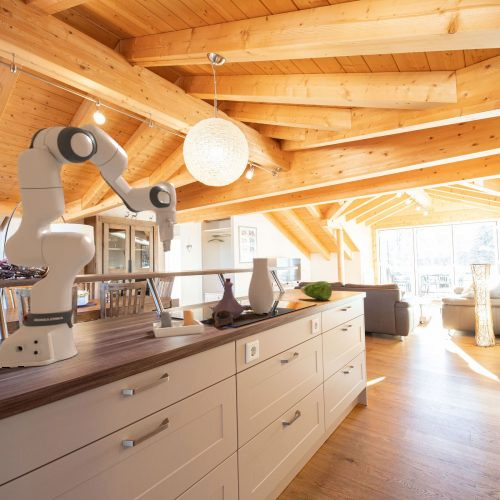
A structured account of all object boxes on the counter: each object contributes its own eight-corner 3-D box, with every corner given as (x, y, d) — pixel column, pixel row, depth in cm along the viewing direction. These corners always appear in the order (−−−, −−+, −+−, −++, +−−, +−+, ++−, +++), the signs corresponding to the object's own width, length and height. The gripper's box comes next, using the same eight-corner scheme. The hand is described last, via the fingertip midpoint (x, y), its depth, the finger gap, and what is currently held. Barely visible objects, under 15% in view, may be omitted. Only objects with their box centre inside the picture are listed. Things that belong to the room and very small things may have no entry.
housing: (155, 340, 120) (155, 329, 120) (153, 333, 132) (153, 323, 132) (203, 335, 126) (203, 324, 127) (197, 329, 139) (196, 319, 139)
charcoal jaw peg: (161, 334, 125) (161, 313, 125) (160, 332, 129) (160, 311, 129) (172, 333, 127) (171, 312, 127) (170, 331, 130) (170, 311, 131)
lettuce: (306, 297, 246) (306, 280, 246) (334, 299, 230) (334, 280, 231) (295, 299, 235) (295, 281, 236) (324, 301, 220) (324, 282, 220)
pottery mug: (239, 326, 147) (237, 311, 143) (225, 339, 140) (223, 324, 136) (218, 317, 153) (216, 303, 149) (205, 329, 147) (202, 314, 143)
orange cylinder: (194, 330, 130) (194, 310, 130) (184, 331, 128) (184, 311, 129) (192, 329, 133) (192, 309, 134) (183, 330, 132) (182, 310, 132)
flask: (227, 322, 152) (226, 279, 153) (205, 318, 164) (204, 278, 164) (251, 317, 164) (250, 278, 165) (229, 314, 176) (229, 277, 176)
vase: (243, 314, 175) (242, 258, 176) (259, 311, 185) (258, 258, 186) (263, 316, 166) (262, 257, 167) (279, 313, 176) (278, 257, 177)
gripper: (176, 216, 134) (177, 250, 133) (170, 222, 153) (171, 252, 152) (161, 216, 131) (161, 250, 131) (157, 222, 151) (157, 252, 150)
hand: (166, 251), depth 142 cm, fingers open, 8 cm apart
